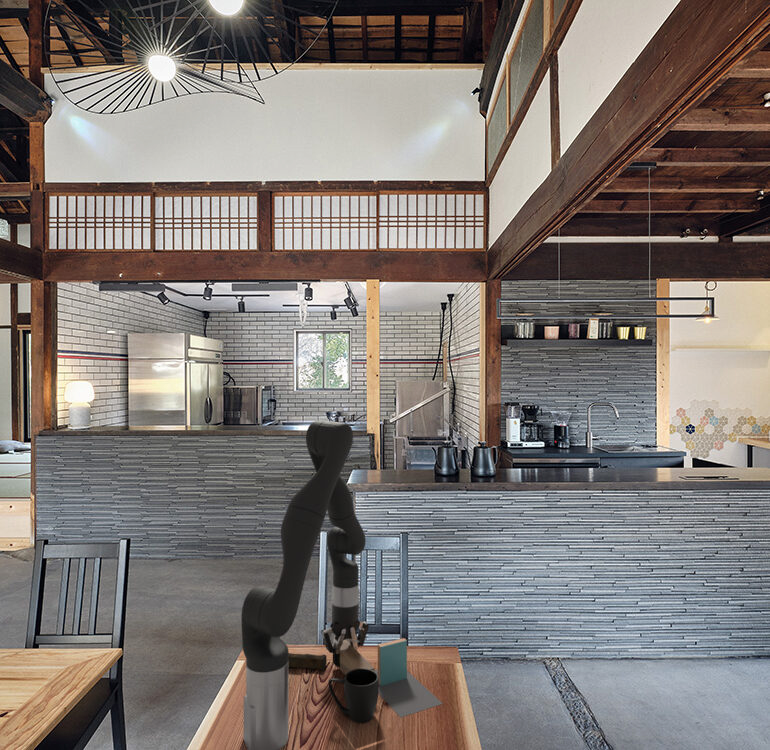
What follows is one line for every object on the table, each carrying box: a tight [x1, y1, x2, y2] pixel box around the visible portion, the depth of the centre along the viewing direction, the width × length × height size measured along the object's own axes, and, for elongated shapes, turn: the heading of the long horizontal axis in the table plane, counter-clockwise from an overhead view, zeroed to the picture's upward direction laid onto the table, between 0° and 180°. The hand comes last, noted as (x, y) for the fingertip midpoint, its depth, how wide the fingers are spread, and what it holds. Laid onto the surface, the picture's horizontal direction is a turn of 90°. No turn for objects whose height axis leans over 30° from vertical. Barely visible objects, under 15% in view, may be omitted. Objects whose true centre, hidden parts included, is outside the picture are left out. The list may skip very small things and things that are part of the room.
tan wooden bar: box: [332, 639, 375, 676], centre depth 143 cm, size 4×18×5 cm, turn 28°
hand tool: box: [289, 652, 328, 672], centre depth 152 cm, size 19×4×5 cm, turn 79°
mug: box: [327, 668, 379, 724], centre depth 128 cm, size 8×12×10 cm
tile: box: [377, 637, 408, 686], centre depth 143 cm, size 8×2×10 cm, turn 118°
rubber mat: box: [374, 668, 444, 718], centre depth 139 cm, size 12×22×1 cm, turn 28°
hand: (344, 663), depth 148 cm, fingers closed on tan wooden bar, 4 cm apart
